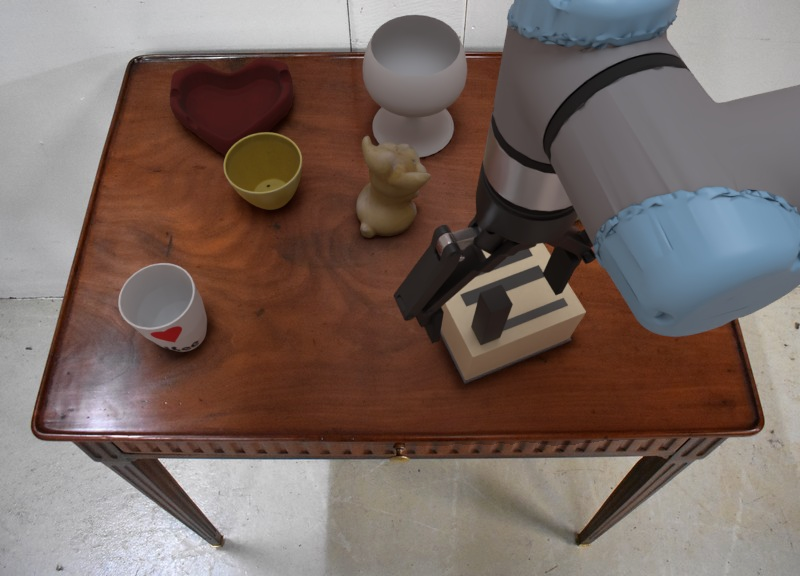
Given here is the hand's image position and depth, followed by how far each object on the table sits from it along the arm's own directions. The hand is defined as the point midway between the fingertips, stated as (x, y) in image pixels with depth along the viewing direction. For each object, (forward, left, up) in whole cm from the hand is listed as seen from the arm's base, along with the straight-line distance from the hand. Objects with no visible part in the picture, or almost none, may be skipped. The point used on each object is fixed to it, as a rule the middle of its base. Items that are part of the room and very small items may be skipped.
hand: (492, 306), depth 59 cm
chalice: (+37, -7, -14) cm, 40 cm away
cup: (+17, +32, -14) cm, 38 cm away
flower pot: (+33, +16, -14) cm, 39 cm away
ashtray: (+48, +17, -14) cm, 52 cm away
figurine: (+23, +2, -14) cm, 27 cm away
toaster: (+4, -4, -14) cm, 15 cm away
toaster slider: (0, 0, -6) cm, 6 cm away
